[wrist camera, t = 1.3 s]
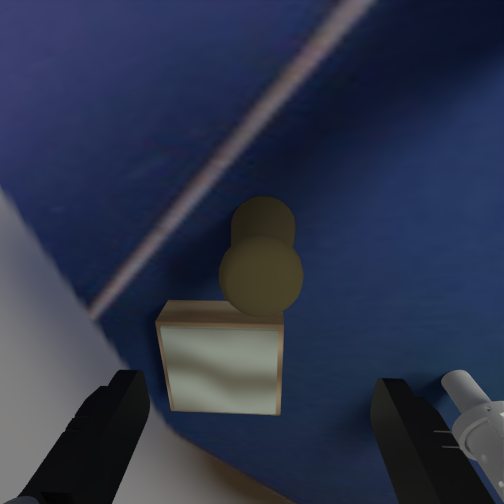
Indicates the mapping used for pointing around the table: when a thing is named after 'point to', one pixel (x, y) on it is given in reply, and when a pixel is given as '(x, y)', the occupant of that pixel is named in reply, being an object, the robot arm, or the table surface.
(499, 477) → the grey mechanical part
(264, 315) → the cork
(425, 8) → the table surface
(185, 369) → the base block
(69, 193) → the table surface
